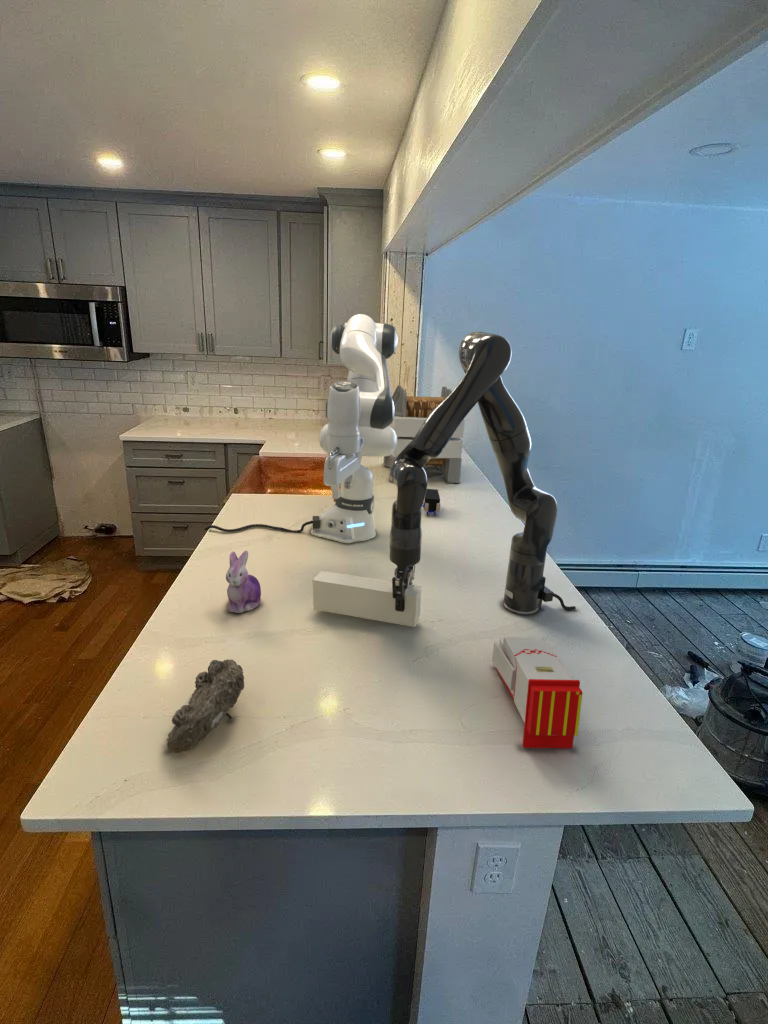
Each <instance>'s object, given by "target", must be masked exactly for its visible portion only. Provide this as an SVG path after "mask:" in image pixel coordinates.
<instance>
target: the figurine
mask: <svg viewBox="0 0 768 1024" xmlns="http://www.w3.org/2000/svg"><path fill="white" fill-rule="evenodd" d="M248 558H249V551H248V550H244V551H243V552H242V553H241V554H240V556H239V557H238V556H237V553H236V552H235V551H231V552H230V554H229V567H228V569H227V572H226V574H225V580H226V582H227V583H228V586H227V589H226V595H227V599H228V611H229V612H231V613H235V614H236V613H237V614H241V613H244V612H249V611H252V610H254V609H256V608H257V607H259V605H260V604H261V596H262V588H261V583H260V582H259V580H258V578H257V577H256V576H254V575H252V574H249V572H248V569H247V567H246V565H247V562H248Z"/></svg>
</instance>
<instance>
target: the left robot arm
mask: <svg viewBox="0 0 768 1024" xmlns="http://www.w3.org/2000/svg"><path fill="white" fill-rule="evenodd" d="M329 341H330V346H331V349H332V351H333V352H334V353H335V354H336V355H339V358H340V361H341V362H342V364H343V366H344V367H345V368H347V370H348V372H347V378H346V380H341V381H340V380H339V381H336V382H333V383H332V384H330V386H329V390H328V397H327V399H326V401H325V418H326V419H327V422H328V423H325V424H324V425H323V426H322V427H321V429H320V431H319V435H318V442H319V446H320V448H321V450H323V452H324V453H326V454H327V456H326V457H325V461H324V465H323V478H322V479H323V484H324V486H326V487H330V490H331V494H332V495H331V496H332V499H333V502H334V504H333V505H331V506H329V507H328V508H326V509H325V510H323V512H321V514H320V515H312V520H310V521H309V520H308V521H306V522H304V523H302V524H301V526H300V529H298V530H294V529H293V530H292V529H288V528H286V527H281V526H273V525H269V524H262V523H255V524H247V525H244V526H241V527H238V528H237V527H236V528H232V529H231V528H229V529H228V528H223V527H221V526H218V525H214V524H211V525H208V526H206V527H205V528H204V529H203V531H209V530H210V529H215V530H218V531H221V532H225V533H235V532H240V531H244V530H246V529H250V528H264V529H265V528H267V529H270V530H277V531H282V532H286V533H294V534H295V533H297V534H300V533H302V532H304V529H305V527H306V526H309V525H312V528H311V530H310V533H311V536H315V537H319V538H323V539H326V540H330V541H336V542H339V543H343V544H352V543H357V542H365V541H368V540H372V539H373V538H375V537H376V535H377V532H376V528H375V523H374V513H373V512H374V509H375V496H374V474H373V472H372V471H371V469H369V468H368V467H366V466H365V465H363V464H362V457H364V458H384V456H390V455H391V454H392V453H393V452H394V450H395V449H396V446H397V435H396V433H395V431H394V430H393V428H392V427H390V426H389V425H390V424H391V423H392V422H393V419H394V415H395V407H394V402H393V399H392V396H393V394H392V389H391V383H390V375H389V368H388V363H387V360H388V359H390V358H391V357H392V356H393V355H394V354H395V351H396V350H397V347H398V343H399V336H398V333H397V329H396V327H395V326H394V324H393V325H392V324H391V323H386V322H384V323H379V322H375V321H374V319H373V318H372V317H370V316H369V315H367V314H364V313H358V314H355V315H352V316H351V317H350V318H349V319H348V321H347V322H346V321H342V322H336V324H334V325H333V326H332V329H331V332H330V336H329Z"/></svg>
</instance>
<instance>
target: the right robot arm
mask: <svg viewBox="0 0 768 1024" xmlns="http://www.w3.org/2000/svg"><path fill="white" fill-rule="evenodd" d="M512 354H513V353H512V346H511V344H510V342H509V341H508V339H507V338H505V337H504V336H502V335H499V334H496V333H491V332H486V331H472V332H469V333H468V334H466V335H465V336H464V337H463V338H462V340H461V342H460V344H459V348H458V359H459V363H460V365H461V369H462V370H463V372H464V376H463V377H462V379H461V380H460V382H459V383H458V385H457V386H455V388H454V389H453V390H451V391H452V392H451V393H450V394H449V395H448V396H447V397H446V398H445V399H444V400H443V401H442V402H441V403H440V404H438V405H437V406H436V407H435V408H434V409H433V411H432V412H431V413H430V414H429V415H428V417H427V418H426V420H425V421H424V423H423V424H422V426H421V428H420V429H419V431H418V433H417V434H416V436H415V438H414V439H413V440H412V441H411V442H410V443H409V444H408V445H407V446H406V447H405V448H404V449H403V451H402V452H401V453H400V454H399V455H398V456H397V457H396V459H395V460H394V462H393V464H392V466H391V469H390V468H389V475H390V477H391V480H392V481H393V482H392V483H393V484H394V485H395V486H396V488H397V493H396V494H397V495H396V499H395V500H394V501H393V503H392V507H391V521H390V522H391V524H390V530H389V531H390V532H389V551H388V552H389V553H388V554H389V555H388V556H389V561H390V562H391V563H393V564H394V565H395V566H396V567H395V568H394V573H393V575H394V576H392V578H391V582H392V591H393V595H392V597H393V598H394V599H396V600H395V610H396V611H400V612H403V611H404V610H405V597H406V589H408V588H409V584H411V585H414V584H413V582H414V580H415V571H416V565H417V564H419V563H420V561H421V557H422V537H423V531H422V516H423V515H422V514H423V510H422V508H423V507H422V506H423V503H424V499H425V495H426V491H427V489H428V475H427V472H426V470H425V468H424V467H425V466H424V465H425V464H426V463H427V462H428V461H429V460H430V459H434V458H437V457H438V456H439V455H440V454H441V452H442V451H443V449H444V448H445V446H446V445H447V443H448V442H449V440H450V438H451V437H452V435H453V434H454V432H455V431H456V429H457V428H458V426H459V425H460V423H461V422H462V421H463V419H464V420H465V418H466V417H467V415H468V414H469V413H470V412H471V411H472V409H473V408H474V407H475V406H476V405H477V404H478V408H479V411H480V415H481V417H482V421H483V423H484V426H485V429H486V433H487V436H488V439H489V443H490V445H491V448H492V451H493V453H494V457H495V459H496V461H497V465H498V468H499V470H500V474H501V476H502V479H503V483H504V487H505V488H504V489H505V492H506V497H507V503H508V505H509V508H510V512H511V513H512V515H513V516H514V517H515V518H516V519H518V520H519V521H521V522H522V523H524V528H523V530H522V532H518V533H515V534H514V535H512V537H511V539H510V540H511V541H510V549H509V557H508V564H507V572H506V579H505V587H504V593H503V595H504V596H503V601H502V606H503V607H504V609H506V610H507V611H509V612H511V613H514V614H516V615H525V616H526V615H527V616H528V615H533V614H536V613H537V612H538V611H539V610H542V605H543V602H544V603H548V602H553V600H554V599H553V598H555V599H557V600H558V601H559V603H560V607H561V608H562V609H564V610H566V611H575V610H576V608H577V607H576V606H574V605H571V606H567V605H565V602H564V599H563V598H562V597H561V596H560V595H559V594H557V593H555V592H554V591H553V590H551V589H550V588H549V587H547V586H546V579H547V578H546V577H545V575H544V572H545V565H546V559H547V558H546V557H547V551H548V547H549V545H550V542H551V541H552V539H553V534H554V530H555V526H556V521H557V518H558V517H557V516H558V502H557V499H556V498H555V497H554V496H553V495H552V494H551V493H548V492H546V491H545V490H544V491H543V490H542V489H540V488H538V487H537V486H536V485H535V484H534V481H533V479H532V476H531V473H530V470H529V460H530V456H531V452H532V437H531V435H530V431H529V428H528V424H527V421H526V419H525V416H524V414H523V413H522V411H521V409H520V407H519V406H518V404H517V403H516V402H515V400H514V399H513V397H512V396H511V394H510V393H509V391H508V389H507V388H506V386H505V383H504V382H503V379H502V375H503V373H504V372H505V371H506V370H507V368H508V367H509V365H510V362H511V359H512ZM391 480H390V481H391ZM404 584H406V585H404ZM398 592H400V593H398Z"/></svg>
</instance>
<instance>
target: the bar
mask: <svg viewBox="0 0 768 1024" xmlns="http://www.w3.org/2000/svg"><path fill="white" fill-rule="evenodd" d="M404 585H406V584H404ZM398 593H400V592H398ZM392 595H393V591H392V580H391V581H390V580H385V579H377V578H371V577H365V576H359V575H352V574H346V573H340V572H339V573H338V572H332V571H327V570H320V571H319V572H318V574H317V575H316V576H315V577H314V578H313V579H312V600H313V601H312V604H313V607H312V608H313V610H315V611H320V612H326V613H332V614H338V615H344V616H349V617H350V616H351V617H356V618H361V619H367V620H372V621H379V622H384V623H389V624H396V625H402V626H408V627H413V628H416V626H417V623H418V622H419V619H420V617H421V606H422V585H417V584H412V585H411V584H409V588H408V589H406V597H405V610H404V611H403V612H400V611H396V610H395V600H396V599H394V598H393V597H392Z"/></svg>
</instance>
